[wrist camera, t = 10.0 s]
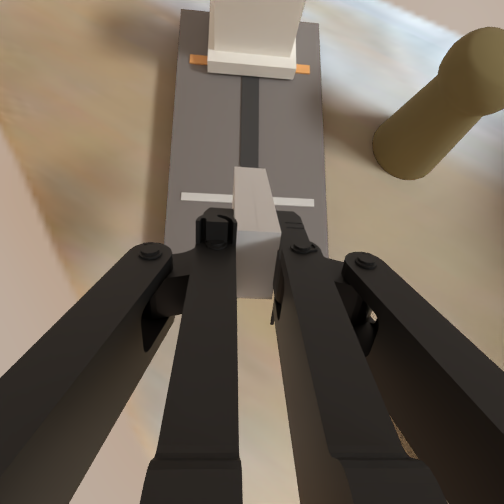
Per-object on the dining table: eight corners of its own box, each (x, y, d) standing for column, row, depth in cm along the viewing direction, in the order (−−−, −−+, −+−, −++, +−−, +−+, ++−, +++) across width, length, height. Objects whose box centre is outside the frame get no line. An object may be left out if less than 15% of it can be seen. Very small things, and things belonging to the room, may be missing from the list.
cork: (382, 184, 30) (476, 100, 19) (364, 122, 31) (444, 11, 20) (445, 175, 30) (569, 91, 20) (425, 116, 32) (532, 6, 21)
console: (320, 272, 27) (329, 267, 25) (166, 267, 26) (162, 262, 24) (312, 42, 32) (319, 22, 30) (183, 29, 31) (181, 7, 29)
